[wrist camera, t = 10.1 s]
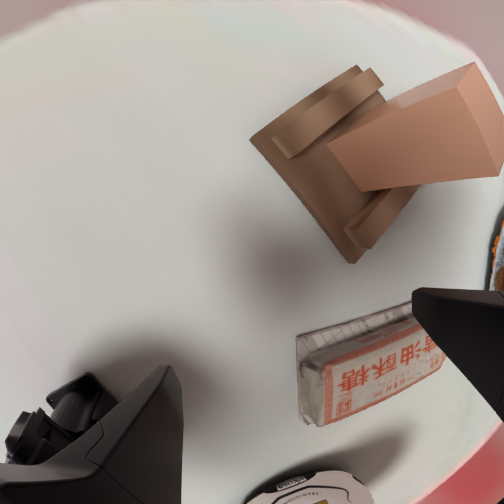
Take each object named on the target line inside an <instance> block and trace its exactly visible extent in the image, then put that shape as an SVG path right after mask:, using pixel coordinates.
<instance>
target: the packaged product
mask: <svg viewBox="0 0 504 504" xmlns="http://www.w3.org/2000/svg"><path fill="white" fill-rule="evenodd" d="M296 355H297V381H298V404H299V420H301V421H302V422H304V423H305V424H307V425H309V424H311V423H312V422H313V423H314V424H316V426H317V427H323V426H324V425H327V424H330V423H332V422H336V421H338V420H341V419H344V418H346V417H349V416H350V415H353V414H355V413H358V412H360V411H362V410H365V409H367V408H368V407H370V406H373V405H376V404H378V403H379V402H382V401H384V400H386V399H388V398H390V397H391V396H393V395H396V394H398V393H399V392H401V391H403V390H405V389H407V388H408V387H410V386H412V385H413V384H415V383H417V382H419V381H420V380H422V379H424V378H426V377H427V376H428V375H431V374H433V373H434V372H436V371H438V370H439V369H440V368H441V366H442V363H443V361H444V360H445V358H446V355H445V354H444V352H443V351H442V350H441V349H440V348H439V347H438V346H437V345H436V344H435V343H434V342H433V340H432V339H431V338H430V337H429V335H428V334H427V333H426V331H425V330H424V329H423V328H422V326H421V325H420V324H419V322H418V321H417V320H416V319H415V317H414V316H413V314H412V302H410V303H408V304H405V305H402V306H399V307H396V308H393V309H390V310H386V311H383V312H380V313H376V314H372V315H368V316H365V317H363V318H359V319H356V320H354V321H352V322H349V323H347V324H342V325H338V326H334V327H330V328H327V329H323V330H320V331H316V332H313V333H309V334H306V335H303V336H300V337H296Z"/></svg>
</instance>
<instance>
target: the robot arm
mask: <svg viewBox="0 0 504 504" xmlns="http://www.w3.org/2000/svg"><path fill="white" fill-rule="evenodd" d="M412 314H413V316H414V317H415V319H416V320H417V321H418V322H419V324H420V325H421V326H422V328H423V329H424V330H425V331H426V333H427V334H428V335H429V337H430V338H431V339H432V340H433V342H434V343H435V344H436V345H437V346H438V347H439V348H440V349H441V350H442V351H443V352H444V354H445V355H446V356H447V357H448V358H449V359H450V360H451V361H452V362H453V363H454V364H455V366H456V367H457V368H458V369H459V370H460V371H461V372H462V373H463V374H464V376H465V377H466V378H467V379H468V380H469V381H470V382H471V383H472V385H473V386H474V387H475V388H476V389H477V390H478V392H479V393H480V394H481V395H482V396H483V398H484V399H485V400H486V401H487V402H488V404H489V405H490V406H491V407H492V408H493V410H494V411H496V414H497V415H498V416H499V417H500V419H501V420H502V421H503V422H504V291H490V290H465V289H444V288H425V287H421V288H418V289H416V290H414V291H413V292H412ZM87 378H89V379H90V380H88V379H87ZM50 399H51V400H52V401H51V400H50ZM46 401H47V403H48V404H49V405H50V406H51V407H52V408H53V409H54V411H53V413H52V415H51V417H49V416H47V415H46V414H45V411H44V410H42V409H41V408H40V407H39V409H38V410H37V411H36V412H34V411H33V412H32V413H28V412H24V411H23V412H22V413H21V415H20V416H19V418H18V419H17V421H16V422H15V424H14V425H13V427H12V429H11V430H10V432H9V434H8V436H7V438H6V440H5V444H6V448H7V454H6V457H7V458H6V462H5V464H4V463H0V504H181V481H182V450H183V429H184V422H183V407H182V390H181V385H180V382H179V380H178V378H177V376H176V374H175V372H174V370H173V368H172V366H171V365H165V366H160V367H158V368H157V369H156V370H155V371H154V372H153V373H152V374H151V375H149V376H148V377H147V378H146V379H145V380H144V381H143V382H142V383H141V384H140V385H139V386H137V387H136V388H135V389H134V390H133V391H132V392H131V393H130V394H129V395H128V396H126V397H125V398H124V399H123V400H122V401H121V402H120V403H118V402H117V401H116V400H115V399H114V398H113V397H112V396H111V394H110V393H109V392H108V391H106V390H105V389H104V388H103V387H102V385H101V384H100V383H99V382H98V381H97V380H96V378H95V377H94V376H93V375H92V374H90V373H85V374H83V375H82V376H80V377H78V378H77V379H75V380H73V381H71V382H70V383H68V384H66V385H65V386H63V387H61V388H59V389H58V390H56V391H54V392H52V393H51V394H49V395H48V396H47V397H46ZM497 504H504V498H503V499H502V500H500V501H499V502H498V503H497Z"/></svg>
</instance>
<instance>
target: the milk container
mask: <svg viewBox="0 0 504 504" xmlns="http://www.w3.org/2000/svg"><path fill="white" fill-rule="evenodd" d="M246 504H375V503H374V500H373V498H372V495H371V493H370V491H369V490H368V488H367V487H366V486H365V485H364V484H363V483H362V482H361V481H360V480H358V479H357V478H356V477H354V476H353V475H351V474H350V473H347V472H344V471H340V470H324V471H316V472H311V473H307V474H304V475H300V476H296V477H292V478H290V479H288V480H286V481H283V482H281V483H278V484H275V485H273V486H271V487H269V488H268V489H266V490H265V491H263V492H261V493H259V494H257V495H255V496H254V497H253V498H252V499H250V500H249V501H248V502H247V503H246Z"/></svg>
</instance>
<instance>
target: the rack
mask: <svg viewBox="0 0 504 504" xmlns="http://www.w3.org/2000/svg"><path fill="white" fill-rule="evenodd" d="M383 85H384V84H383V83H382V81H381V80H380V79H379V78H378V76H377V75H376V74H375V73H374V71H373V70H372V69H371V68H369V69H367V70H365V71H364V72H363V71H362V70H361V69H360V68H359V67H358V65H355V66H354V67H352V68H350V69H349V70H347V71H346V72H344V73H342V74H341V75H339V76H338V77H336V78H334V79H333V80H331V81H330V82H328V83H327V84H325V85H324V86H322V87H320V88H319V89H317V90H316V91H314V92H313V93H312V94H310V95H309V96H307V97H306V98H304V99H303V100H301V101H300V102H298V103H297V104H296V105H294V106H293V107H291V108H290V109H288V110H287V111H286V112H284V113H283V114H282V115H280V116H279V117H277V118H276V119H275V120H273V121H272V122H271V123H269V124H268V125H267V126H265V127H264V128H263V129H261V130H260V131H259V132H257V133H256V134H255V135H253V136H252V137H251V139H250V140H249V141H250V142H251V143H252V144H253V145H254V146H255V147H256V148H257V150H258V151H259V152H260V153H261V154H262V155H263V156H264V158H265V159H266V160H267V161H268V162H269V163H270V165H271V166H272V167H273V168H274V169H275V170H276V172H277V173H278V174H279V175H280V176H281V178H282V179H283V180H284V181H285V182H286V184H287V185H288V186H289V187H290V188H291V190H292V191H293V192H294V193H295V194H296V196H297V197H298V198H299V199H300V201H301V202H302V203H303V204H304V206H305V207H306V208H307V209H308V211H309V212H310V213H311V214H312V216H313V217H314V218H315V220H316V221H317V222H318V223H319V225H320V226H321V227H322V229H323V230H324V231H325V233H326V234H327V235H328V236H329V238H330V239H331V240H332V242H333V243H334V244H335V246H336V247H337V248H338V250H339V251H340V253H341V254H342V255H343V257H344V258H345V259H346V261H347V262H348V263H352V264H355V263H356V262H357V261H358V259H359V258H360V257H361V256H362V255H363V254H364V253H365V251H366V250H367V249H371V248H372V246H373V245H374V244H375V243H376V242H377V240H378V239H379V238H380V237H381V236H382V234H383V233H384V232H385V231H386V229H387V228H388V227H389V226H390V224H391V223H392V222H393V221H394V219H395V218H396V217H397V216H398V214H399V213H400V212H401V210H402V209H403V208H404V206H405V205H406V204H407V203H408V201H409V200H410V199H411V197H412V196H413V195H414V193H415V192H416V190H417V189H418V188H419V186H420V185H421V184H417V185H409V186H402V187H394V188H387V189H380V190H373V191H366V192H361V191H360V189H359V188H358V187H357V185H356V184H355V182H354V181H353V180H352V178H351V177H350V175H349V174H348V173H347V171H346V170H345V169H344V167H343V166H342V165H341V163H340V162H339V161H338V159H337V158H336V157H335V155H334V154H333V153H332V152H331V150H330V149H329V148H328V146H327V145H326V143H328V142H329V141H330V140H331V139H332V138H333V137H334V136H336V135H337V134H338V133H339V132H340V131H341V130H343V129H344V128H345V127H346V126H347V125H348V124H350V123H351V122H352V121H353V120H354V119H355V118H357V117H358V116H359V115H361V114H363V113H365V112H367V111H368V110H370V109H372V108H374V107H376V106H378V105H380V104H382V103H384V102H386V101H385V99H384V98H383V96H382V95H381V94H380V92H379V91H378V89H379V88H380V87H382V86H383Z"/></svg>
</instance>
